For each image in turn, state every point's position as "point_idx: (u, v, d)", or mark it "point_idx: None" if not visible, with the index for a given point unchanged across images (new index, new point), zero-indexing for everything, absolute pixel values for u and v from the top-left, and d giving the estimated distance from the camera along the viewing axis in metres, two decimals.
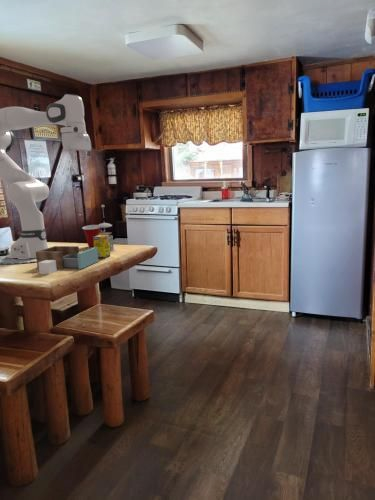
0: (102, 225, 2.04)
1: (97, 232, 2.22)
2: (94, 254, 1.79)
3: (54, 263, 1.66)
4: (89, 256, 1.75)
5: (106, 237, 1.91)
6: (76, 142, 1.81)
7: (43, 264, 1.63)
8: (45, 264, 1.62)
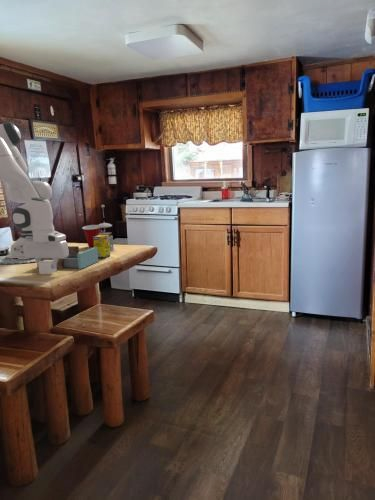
0: (102, 225, 2.04)
1: (97, 232, 2.22)
2: (94, 254, 1.79)
3: None
4: (89, 256, 1.75)
5: (106, 237, 1.91)
6: None
7: (43, 264, 1.63)
8: (45, 264, 1.62)
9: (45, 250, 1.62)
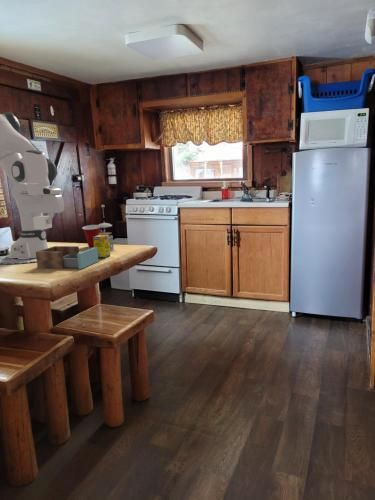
0: (102, 225, 2.04)
1: (97, 232, 2.22)
2: (94, 254, 1.79)
3: None
4: (89, 256, 1.75)
5: (106, 237, 1.91)
6: None
7: (38, 218, 1.59)
8: (40, 218, 1.59)
9: (40, 204, 1.58)
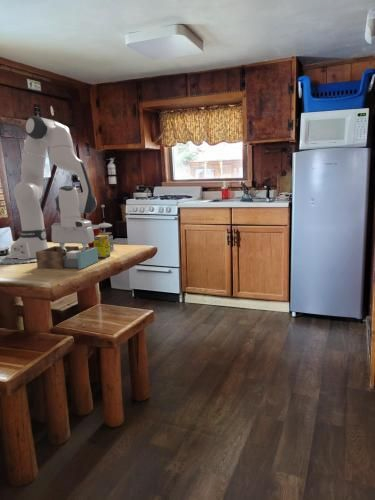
0: (102, 225, 2.04)
1: (97, 232, 2.22)
2: (94, 254, 1.79)
3: None
4: (89, 256, 1.75)
5: (106, 237, 1.91)
6: None
7: (71, 254, 1.74)
8: (73, 254, 1.74)
9: (72, 235, 1.73)
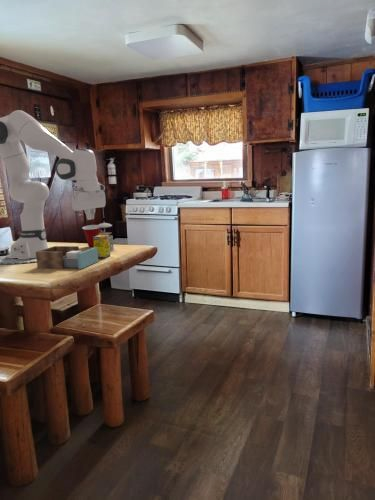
0: (102, 225, 2.04)
1: (97, 232, 2.22)
2: (94, 254, 1.79)
3: None
4: (89, 256, 1.75)
5: (106, 237, 1.91)
6: None
7: (71, 254, 1.74)
8: (73, 254, 1.74)
9: (94, 200, 1.67)
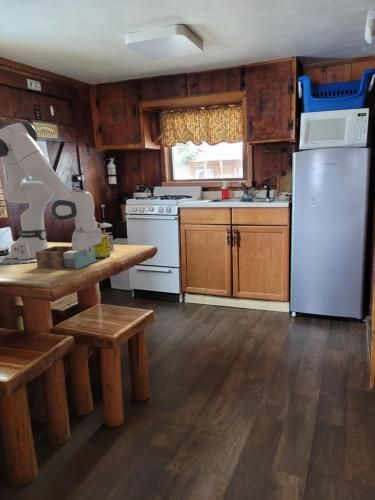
0: (102, 225, 2.04)
1: None
2: None
3: None
4: None
5: (106, 237, 1.91)
6: None
7: (68, 254, 1.75)
8: (70, 254, 1.75)
9: (91, 239, 1.74)
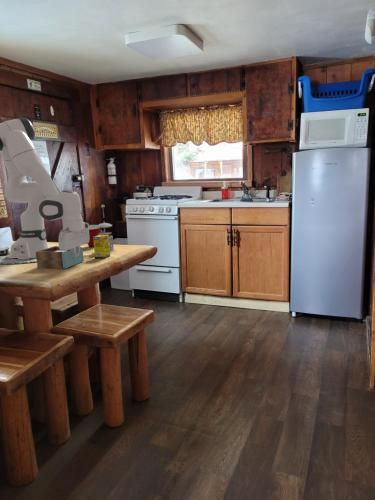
0: (102, 225, 2.04)
1: (97, 232, 2.22)
2: (79, 254, 1.81)
3: None
4: None
5: (106, 237, 1.91)
6: None
7: None
8: None
9: (79, 238, 1.76)
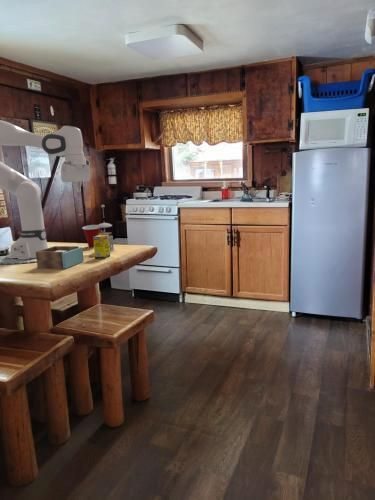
0: (102, 225, 2.04)
1: (97, 232, 2.22)
2: (79, 254, 1.81)
3: None
4: (74, 256, 1.77)
5: (106, 237, 1.91)
6: None
7: None
8: None
9: (80, 174, 1.82)
